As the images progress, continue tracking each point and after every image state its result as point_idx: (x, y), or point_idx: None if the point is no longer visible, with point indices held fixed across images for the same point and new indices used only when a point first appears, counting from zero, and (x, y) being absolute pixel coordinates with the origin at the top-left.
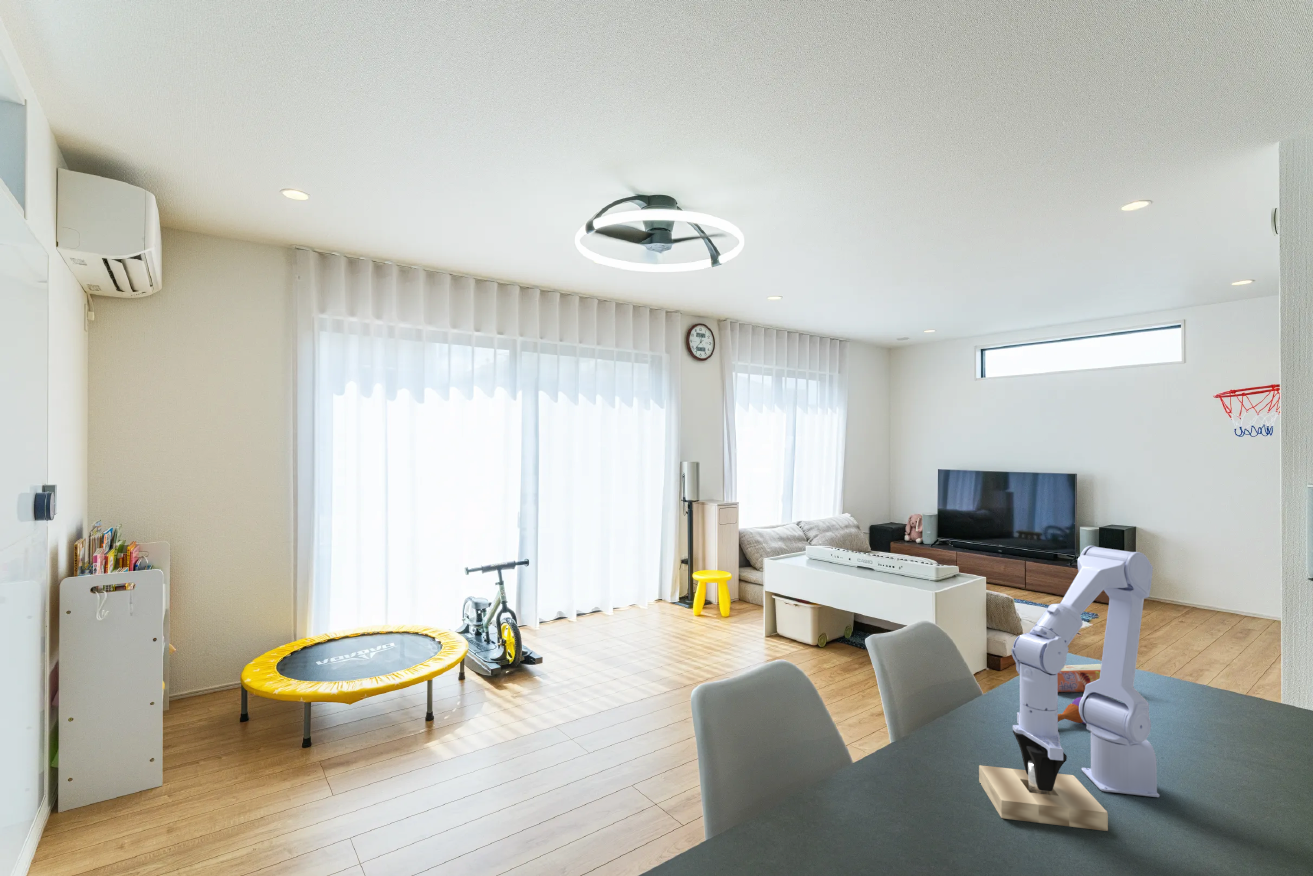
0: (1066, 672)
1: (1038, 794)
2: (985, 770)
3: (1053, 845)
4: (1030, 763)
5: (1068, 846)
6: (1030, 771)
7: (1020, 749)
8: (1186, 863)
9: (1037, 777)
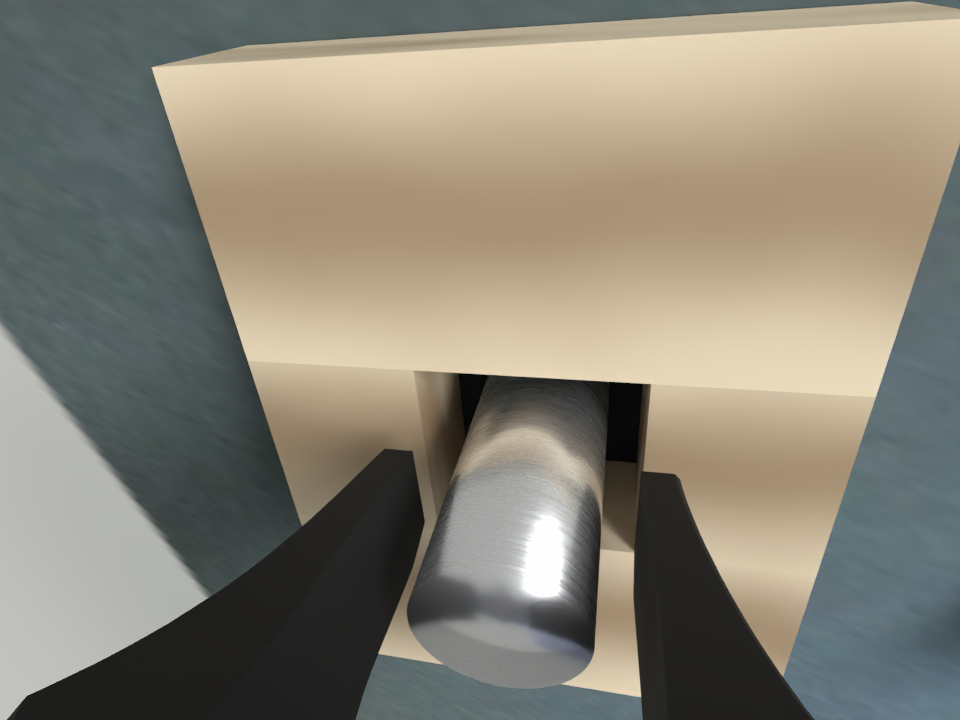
0: None
1: (409, 419)
2: (827, 74)
3: (105, 284)
4: (490, 583)
5: (143, 354)
6: (472, 511)
7: (756, 654)
8: None
9: (317, 514)
